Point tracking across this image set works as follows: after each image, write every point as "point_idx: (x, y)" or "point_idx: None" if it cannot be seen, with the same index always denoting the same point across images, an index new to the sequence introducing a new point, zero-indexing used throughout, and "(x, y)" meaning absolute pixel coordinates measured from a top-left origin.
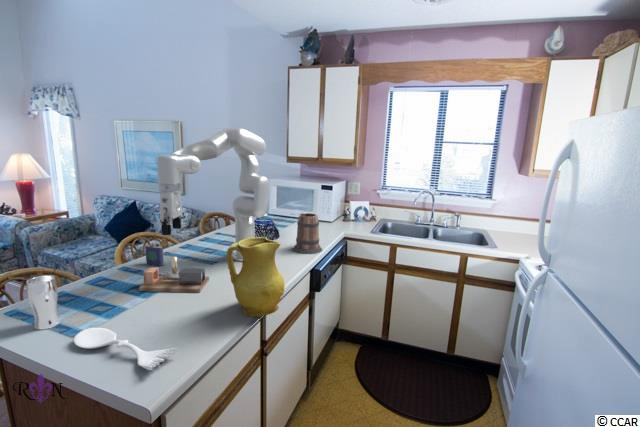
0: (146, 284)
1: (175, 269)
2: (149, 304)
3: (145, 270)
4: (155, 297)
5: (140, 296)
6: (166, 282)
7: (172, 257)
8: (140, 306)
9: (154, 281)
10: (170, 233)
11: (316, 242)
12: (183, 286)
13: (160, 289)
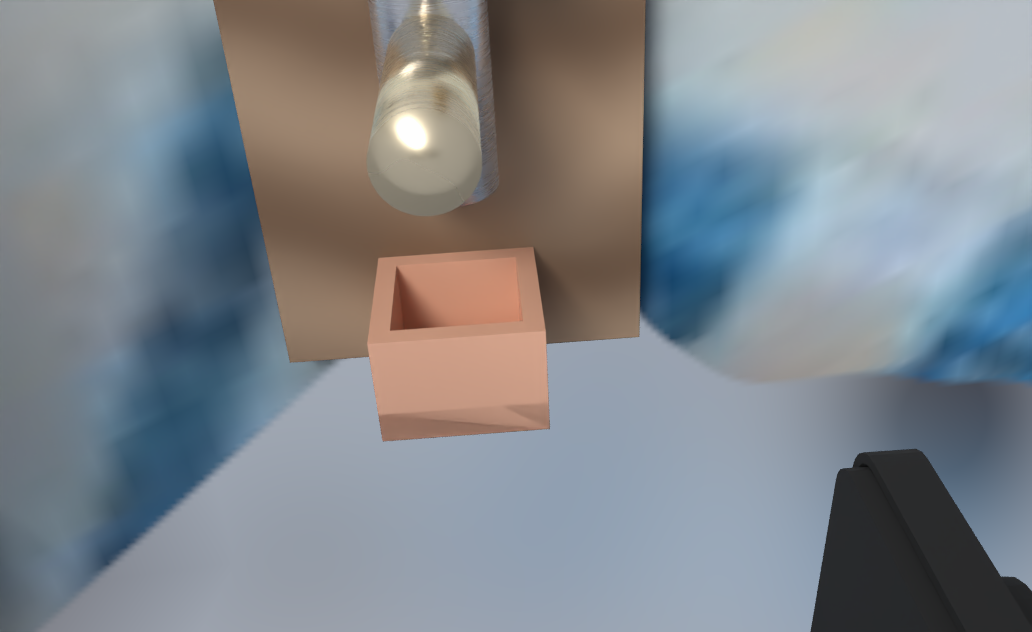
0: (544, 310)
1: (465, 49)
2: (958, 58)
3: (492, 431)
4: (784, 81)
5: (749, 244)
6: None
7: (450, 180)
8: (990, 127)
9: (495, 260)
10: (938, 485)
11: None
12: None
13: (639, 107)
